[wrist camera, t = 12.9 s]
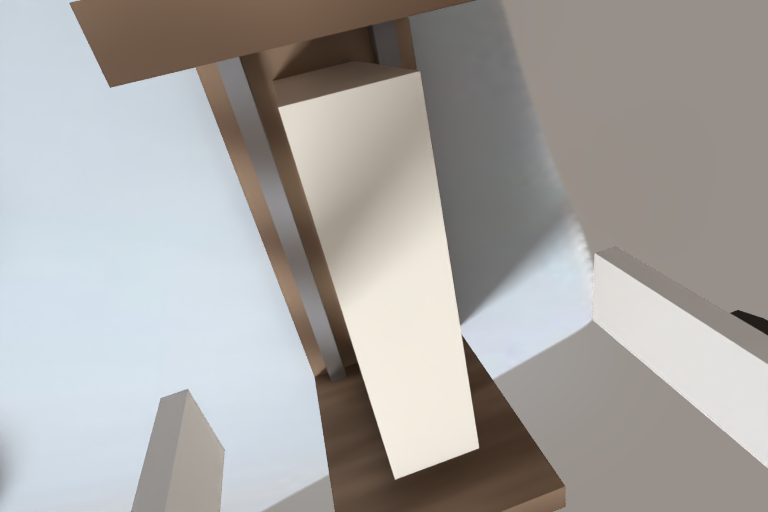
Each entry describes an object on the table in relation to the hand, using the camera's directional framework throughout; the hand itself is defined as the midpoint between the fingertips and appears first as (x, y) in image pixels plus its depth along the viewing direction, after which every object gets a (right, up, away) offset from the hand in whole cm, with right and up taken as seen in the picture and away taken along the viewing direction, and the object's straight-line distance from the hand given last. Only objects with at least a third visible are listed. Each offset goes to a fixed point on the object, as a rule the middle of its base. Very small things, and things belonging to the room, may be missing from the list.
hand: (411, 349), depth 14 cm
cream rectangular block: (-3, +5, +11) cm, 12 cm away
